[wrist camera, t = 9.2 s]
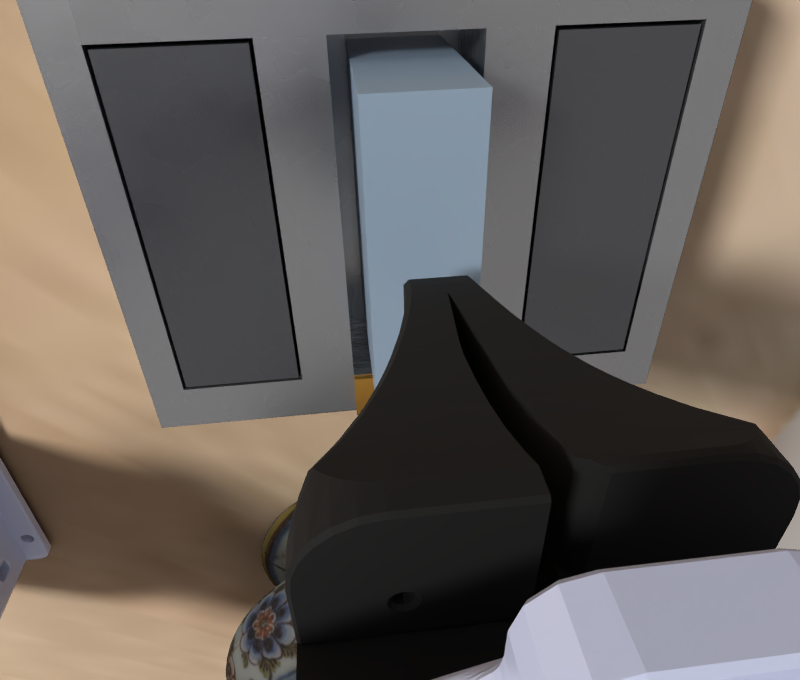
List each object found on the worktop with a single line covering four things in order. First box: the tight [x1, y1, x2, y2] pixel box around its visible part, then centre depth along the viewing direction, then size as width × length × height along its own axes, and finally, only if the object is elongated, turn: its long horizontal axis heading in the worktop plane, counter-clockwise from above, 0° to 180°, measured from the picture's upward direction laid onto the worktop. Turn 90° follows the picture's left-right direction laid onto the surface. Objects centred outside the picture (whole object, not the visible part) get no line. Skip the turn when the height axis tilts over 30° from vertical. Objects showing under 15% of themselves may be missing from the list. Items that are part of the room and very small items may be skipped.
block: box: [345, 35, 493, 390], centre depth 16 cm, size 8×3×6 cm, turn 1°
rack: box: [16, 0, 752, 428], centre depth 18 cm, size 13×16×4 cm
